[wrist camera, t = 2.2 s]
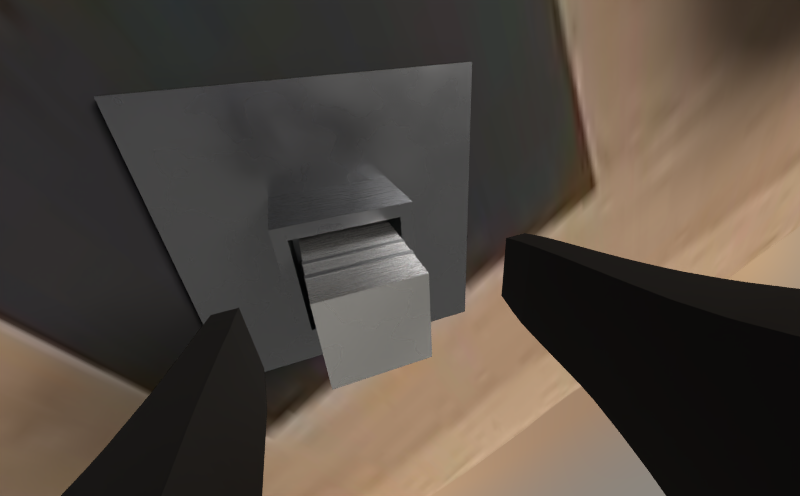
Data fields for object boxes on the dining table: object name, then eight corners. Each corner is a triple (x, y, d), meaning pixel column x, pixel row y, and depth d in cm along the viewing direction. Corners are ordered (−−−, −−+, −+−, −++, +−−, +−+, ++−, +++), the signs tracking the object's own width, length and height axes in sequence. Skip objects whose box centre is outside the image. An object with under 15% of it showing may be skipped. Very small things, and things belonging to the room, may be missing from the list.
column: (309, 277, 19) (331, 390, 12) (292, 211, 17) (308, 304, 10) (378, 261, 20) (433, 357, 13) (370, 197, 18) (430, 272, 11)
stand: (231, 374, 21) (223, 443, 17) (100, 95, 13) (30, 106, 9) (460, 306, 25) (495, 349, 21) (465, 62, 17) (523, 59, 13)
